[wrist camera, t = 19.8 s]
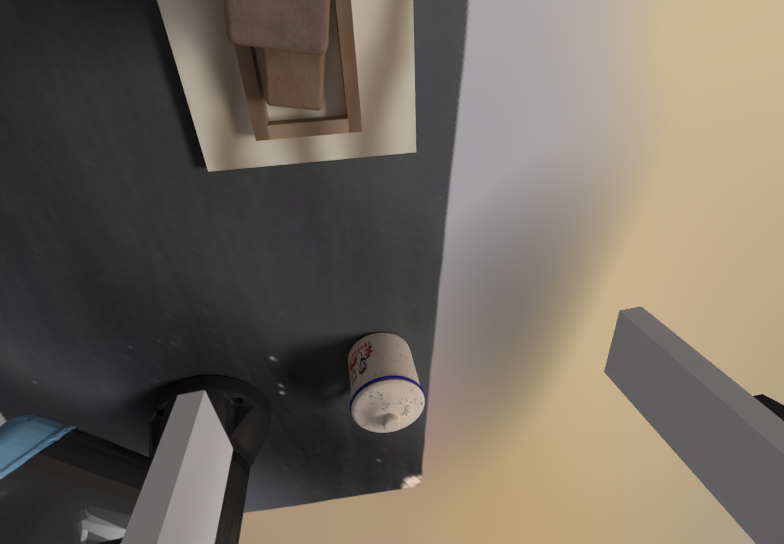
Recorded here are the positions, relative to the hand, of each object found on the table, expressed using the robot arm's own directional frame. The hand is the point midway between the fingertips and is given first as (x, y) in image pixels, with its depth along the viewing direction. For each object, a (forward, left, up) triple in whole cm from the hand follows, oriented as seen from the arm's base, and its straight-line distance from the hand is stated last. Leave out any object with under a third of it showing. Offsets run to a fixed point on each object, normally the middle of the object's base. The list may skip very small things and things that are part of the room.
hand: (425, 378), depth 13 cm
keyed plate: (-4, +9, -32) cm, 33 cm away
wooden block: (-4, +9, -30) cm, 32 cm away
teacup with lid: (0, -30, -32) cm, 44 cm away
